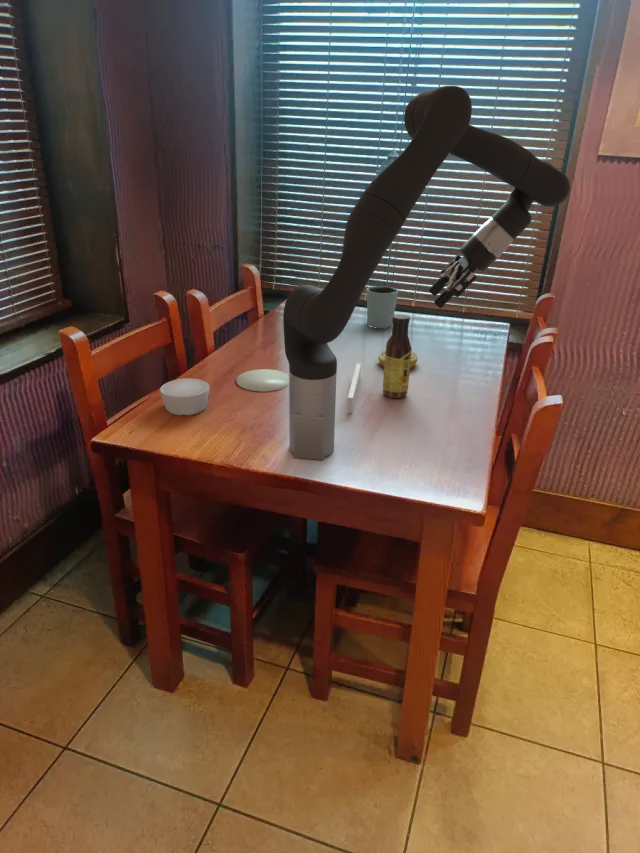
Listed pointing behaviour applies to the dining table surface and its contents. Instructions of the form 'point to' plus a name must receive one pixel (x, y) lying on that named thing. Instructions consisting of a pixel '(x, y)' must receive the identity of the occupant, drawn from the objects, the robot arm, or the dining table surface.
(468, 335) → the dining table surface
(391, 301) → the grey tapered cup
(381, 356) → the decorated donut
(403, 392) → the sauce bottle
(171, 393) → the ramekin
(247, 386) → the sage pad
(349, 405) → the frosted wall
